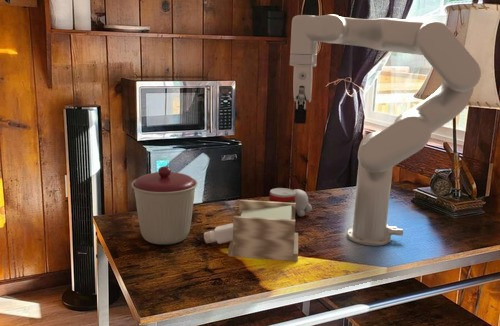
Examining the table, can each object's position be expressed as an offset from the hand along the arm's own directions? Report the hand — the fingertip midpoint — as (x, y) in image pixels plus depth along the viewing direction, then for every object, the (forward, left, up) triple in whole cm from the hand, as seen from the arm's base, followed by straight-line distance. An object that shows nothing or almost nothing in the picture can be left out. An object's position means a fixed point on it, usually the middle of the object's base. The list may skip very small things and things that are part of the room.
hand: (299, 120), depth 143 cm
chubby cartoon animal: (+1, -12, -34) cm, 36 cm away
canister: (+36, +14, -34) cm, 51 cm away
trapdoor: (+8, +16, -26) cm, 31 cm away
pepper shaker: (+15, +16, -29) cm, 36 cm away
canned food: (+4, -2, -34) cm, 34 cm away
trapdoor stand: (+8, +16, -33) cm, 38 cm away
